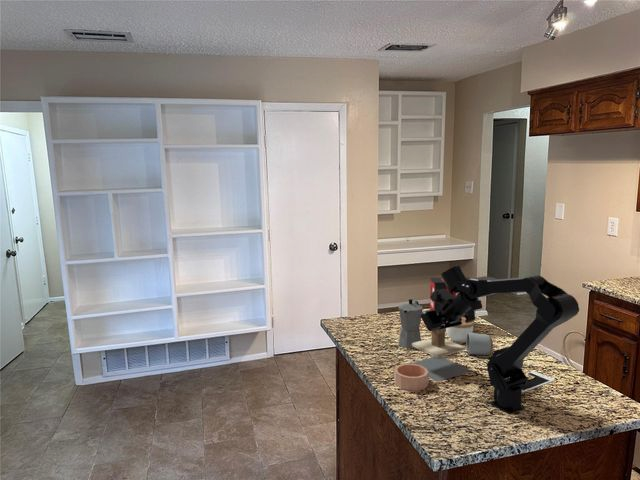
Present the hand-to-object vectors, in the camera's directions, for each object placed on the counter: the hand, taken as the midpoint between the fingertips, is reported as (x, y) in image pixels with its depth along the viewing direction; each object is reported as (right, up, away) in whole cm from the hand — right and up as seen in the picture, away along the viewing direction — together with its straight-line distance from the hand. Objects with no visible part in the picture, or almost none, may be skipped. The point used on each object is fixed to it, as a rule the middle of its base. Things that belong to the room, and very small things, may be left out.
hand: (435, 329), depth 148 cm
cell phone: (+26, -15, -9) cm, 32 cm away
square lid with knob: (+1, -6, 0) cm, 6 cm away
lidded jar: (+16, -10, +27) cm, 33 cm away
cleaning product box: (+18, -7, +44) cm, 48 cm away
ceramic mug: (+19, -12, +14) cm, 26 cm away
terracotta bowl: (-10, -15, -10) cm, 21 cm away
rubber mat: (+1, -13, +1) cm, 14 cm away
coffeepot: (-3, -11, +23) cm, 26 cm away
